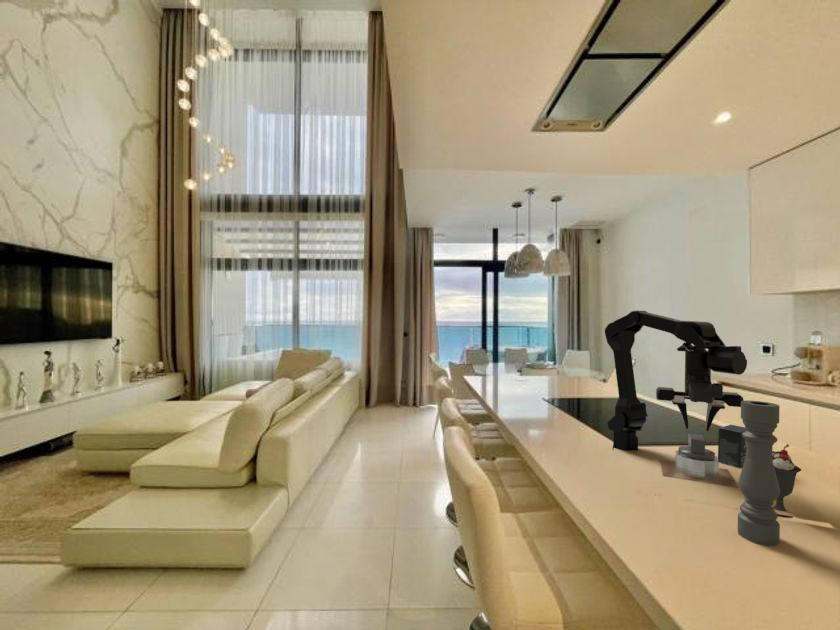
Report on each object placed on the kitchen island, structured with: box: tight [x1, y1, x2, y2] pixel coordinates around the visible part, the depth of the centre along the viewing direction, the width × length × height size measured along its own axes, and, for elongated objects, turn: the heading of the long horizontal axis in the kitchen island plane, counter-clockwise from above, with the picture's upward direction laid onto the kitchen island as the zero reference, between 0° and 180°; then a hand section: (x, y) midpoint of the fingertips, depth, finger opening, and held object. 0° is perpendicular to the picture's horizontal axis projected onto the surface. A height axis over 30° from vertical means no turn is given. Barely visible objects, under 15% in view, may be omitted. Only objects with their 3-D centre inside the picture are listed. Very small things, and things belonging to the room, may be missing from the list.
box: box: [717, 424, 747, 469], centre depth 121 cm, size 8×6×11 cm
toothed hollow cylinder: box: [674, 450, 720, 479], centre depth 112 cm, size 9×9×4 cm
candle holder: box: [737, 400, 781, 547], centre depth 81 cm, size 6×6×25 cm
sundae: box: [772, 443, 802, 519], centre depth 91 cm, size 7×7×15 cm
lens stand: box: [659, 459, 740, 489], centre depth 112 cm, size 16×14×1 cm
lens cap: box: [677, 433, 716, 460], centre depth 112 cm, size 8×8×8 cm
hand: (696, 429), depth 112 cm, fingers open, 4 cm apart
